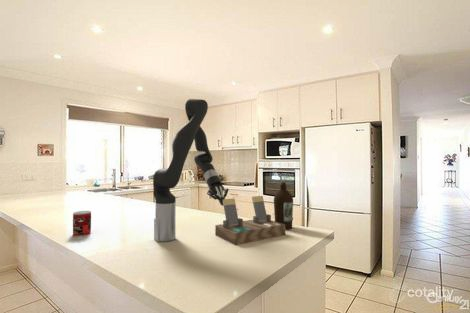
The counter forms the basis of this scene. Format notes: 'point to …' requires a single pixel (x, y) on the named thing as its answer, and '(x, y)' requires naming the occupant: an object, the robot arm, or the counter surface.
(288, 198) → the olive oil
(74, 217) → the canned food
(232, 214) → the near lever
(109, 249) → the counter surface
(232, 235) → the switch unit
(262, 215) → the far lever
